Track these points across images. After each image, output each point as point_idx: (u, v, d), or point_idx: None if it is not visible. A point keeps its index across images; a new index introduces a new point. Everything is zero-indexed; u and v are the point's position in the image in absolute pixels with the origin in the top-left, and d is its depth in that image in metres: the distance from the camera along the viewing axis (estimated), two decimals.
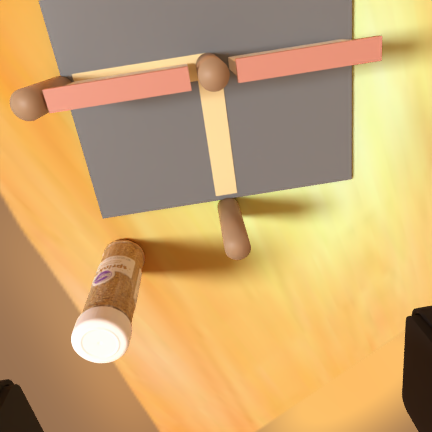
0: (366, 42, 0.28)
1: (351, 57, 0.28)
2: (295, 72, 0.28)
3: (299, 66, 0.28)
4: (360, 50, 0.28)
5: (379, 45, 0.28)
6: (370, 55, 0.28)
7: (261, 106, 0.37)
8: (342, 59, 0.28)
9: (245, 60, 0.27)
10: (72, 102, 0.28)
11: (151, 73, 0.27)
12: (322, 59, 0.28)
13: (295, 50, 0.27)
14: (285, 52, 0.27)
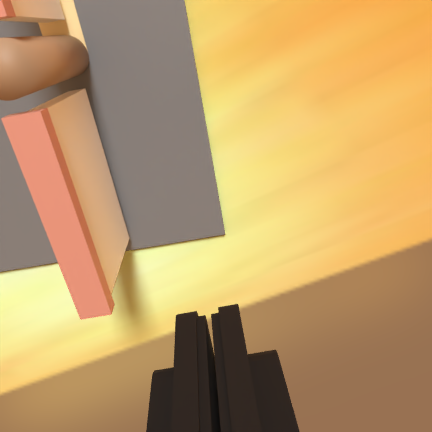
0: (100, 297, 0.20)
1: (77, 283, 0.19)
2: (39, 209, 0.17)
3: (50, 214, 0.18)
4: (88, 291, 0.19)
5: (99, 313, 0.20)
6: (84, 305, 0.20)
7: None
8: (72, 272, 0.19)
9: (41, 127, 0.16)
10: None
11: None
12: (66, 245, 0.18)
13: (72, 205, 0.17)
14: (66, 191, 0.17)
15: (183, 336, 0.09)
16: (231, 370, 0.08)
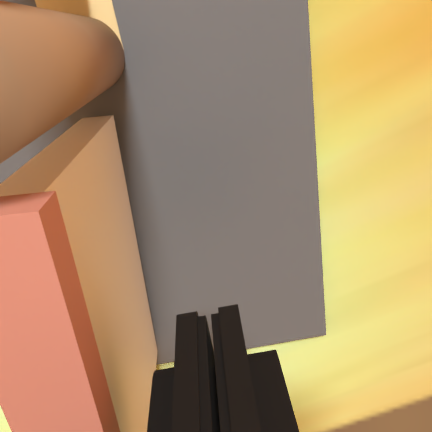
0: None
1: None
2: (15, 425, 0.07)
3: None
4: None
5: None
6: None
7: None
8: None
9: (37, 251, 0.06)
10: None
11: None
12: None
13: (97, 416, 0.07)
14: (86, 391, 0.07)
15: (184, 336, 0.09)
16: (231, 370, 0.08)
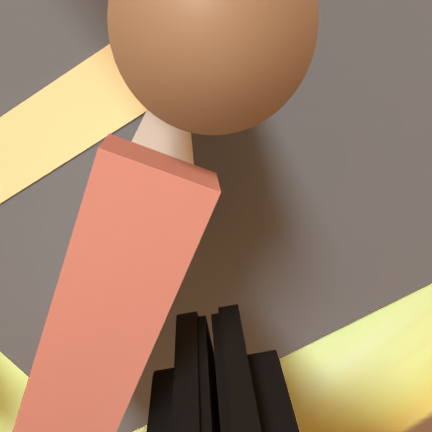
0: None
1: None
2: (33, 389, 0.06)
3: (52, 407, 0.06)
4: None
5: None
6: None
7: None
8: None
9: (190, 228, 0.05)
10: None
11: None
12: None
13: (121, 409, 0.07)
14: (133, 382, 0.06)
15: (183, 336, 0.09)
16: (231, 370, 0.08)
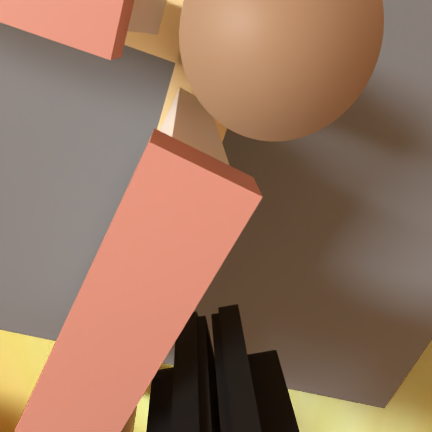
0: None
1: None
2: (49, 375, 0.06)
3: (65, 394, 0.06)
4: None
5: None
6: None
7: (295, 201, 0.15)
8: None
9: (227, 229, 0.05)
10: None
11: None
12: None
13: (133, 402, 0.07)
14: (149, 376, 0.06)
15: (183, 336, 0.09)
16: (231, 370, 0.08)
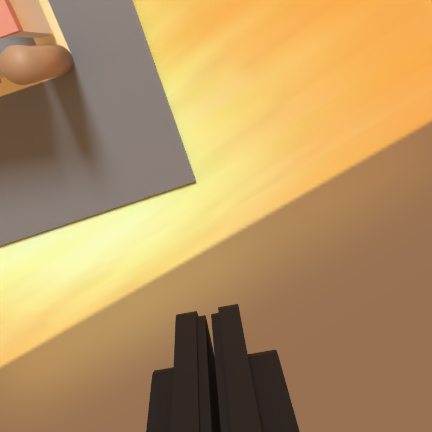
0: None
1: None
2: None
3: None
4: None
5: None
6: None
7: (35, 130, 0.33)
8: None
9: None
10: None
11: None
12: None
13: None
14: None
15: (183, 336, 0.09)
16: (231, 370, 0.08)
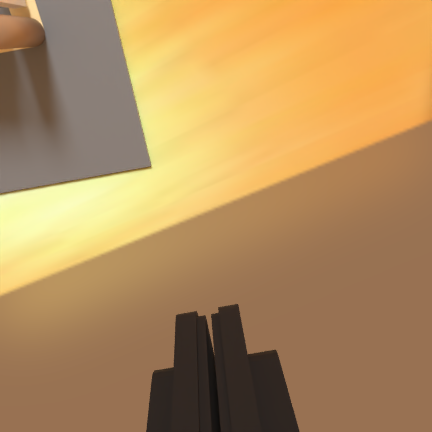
0: None
1: None
2: None
3: None
4: None
5: None
6: None
7: (1, 95, 0.35)
8: None
9: None
10: None
11: None
12: None
13: None
14: None
15: (183, 336, 0.09)
16: (231, 370, 0.08)
